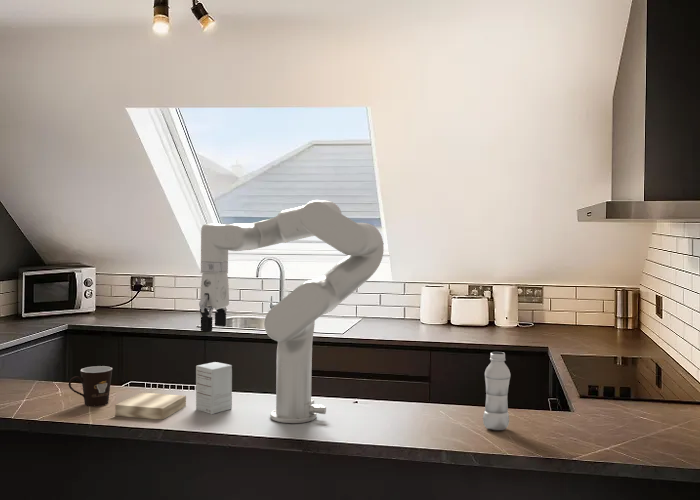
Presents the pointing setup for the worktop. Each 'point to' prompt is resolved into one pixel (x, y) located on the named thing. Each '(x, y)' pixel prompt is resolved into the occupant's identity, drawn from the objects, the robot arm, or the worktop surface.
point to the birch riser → (150, 405)
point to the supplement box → (213, 387)
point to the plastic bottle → (496, 393)
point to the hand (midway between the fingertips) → (213, 328)
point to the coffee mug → (94, 385)
